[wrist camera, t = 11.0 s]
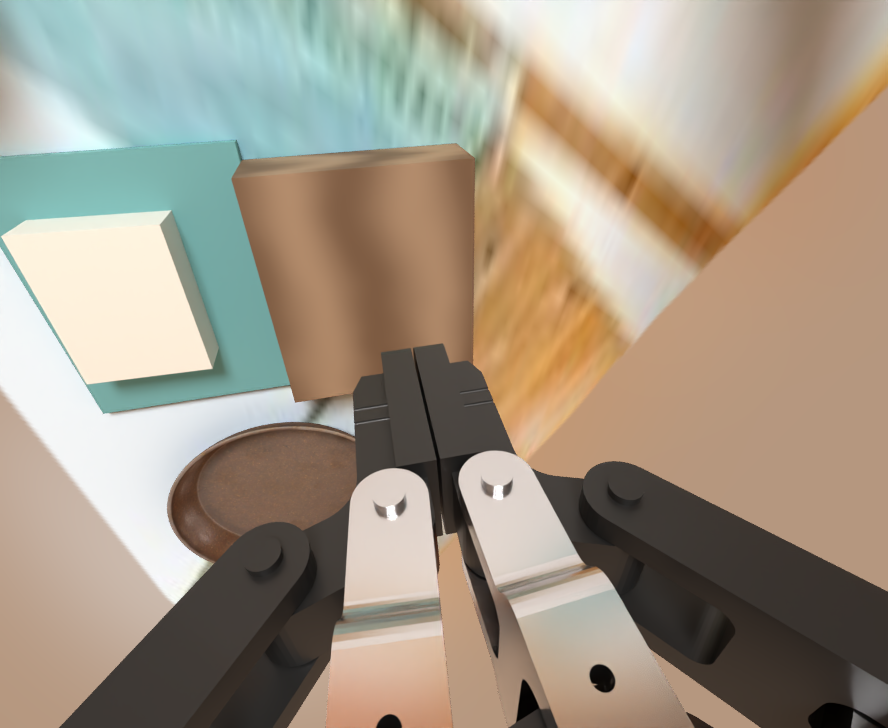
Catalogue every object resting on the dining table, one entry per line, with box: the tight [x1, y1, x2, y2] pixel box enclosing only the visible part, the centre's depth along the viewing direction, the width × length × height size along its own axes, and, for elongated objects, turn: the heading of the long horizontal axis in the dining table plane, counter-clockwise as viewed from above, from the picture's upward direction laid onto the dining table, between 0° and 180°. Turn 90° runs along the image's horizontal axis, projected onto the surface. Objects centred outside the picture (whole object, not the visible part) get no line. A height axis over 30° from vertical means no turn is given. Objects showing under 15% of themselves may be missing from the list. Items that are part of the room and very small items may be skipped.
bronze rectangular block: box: [231, 143, 475, 403], centre depth 29 cm, size 12×14×4 cm
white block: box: [1, 210, 219, 384], centre depth 26 cm, size 7×9×2 cm
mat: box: [0, 140, 290, 414], centre depth 28 cm, size 13×16×1 cm
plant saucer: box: [167, 422, 357, 563], centre depth 39 cm, size 18×18×3 cm
